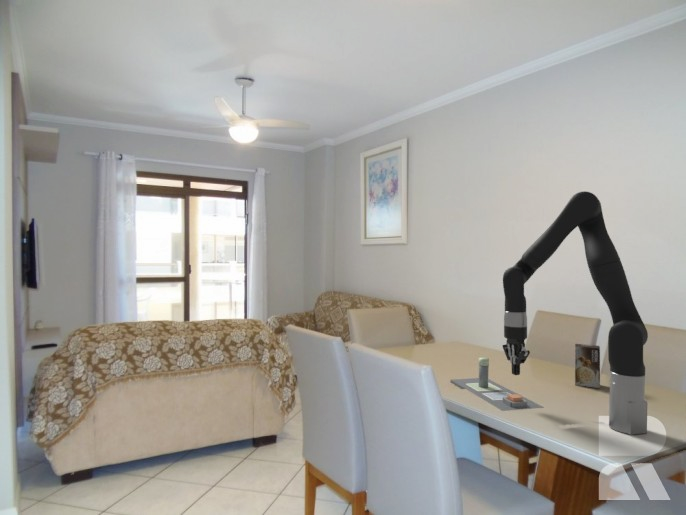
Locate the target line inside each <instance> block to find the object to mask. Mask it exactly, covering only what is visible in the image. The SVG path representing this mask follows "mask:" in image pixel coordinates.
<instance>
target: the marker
mask: <svg viewBox="0 0 686 515" xmlns="http://www.w3.org/2000/svg"><path fill="white" fill-rule="evenodd" d="M489 364H490V358H488V357H478V378H479V387H481V388H488V379H489Z"/></svg>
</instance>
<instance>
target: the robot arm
mask: <svg viewBox="0 0 686 515" xmlns="http://www.w3.org/2000/svg"><path fill="white" fill-rule="evenodd" d="M601 204H602V203H601V201H600V200H599V198H598V196H596V195H595V194H594V193H593V192H590V191H579V192H576V193H575V194H574V195H572V196H571V197H570V198H569V200H568V202H567V203H566V205H565V206H564V207H563V209H562V210H561V212H560V213H559V214H558V216H557V217H556V218H555V220H554V221H553V222H552V223H551V224H550V226H549V227H547V229H546V230H545V231H544V232H543V233H542V234H541V235H540V236H539V237H537V239H536V240H535V241H534V242H533V243H532V244H531V245H530V246H529V247H528V248H527V249H526V251H524V253H523V254H522V255H521V258H520V259H519V260H517V262H516V263H515V264H514V265H513V266H512V267H508V268H507V269H505V270H504V272H503V276H502V287H503V294H504V317H503V337H504V338H505V339H506V342H505V344H502V349H503V352H504V354H505V357H506V360H507V361H510V362H509V363H510V364H511V374H512V375H514V376H519V375H520V373H521V364H525V362H526V360H527V358H529V355H530V353H531V352H530V351H531V350H527V349H526V343H525V340H527V339H528V315H527V299H526V296H525V284H526V283H527V282H528V281H529V280H530V278H531V277H532V276H533V275H534V274H535V272H536V271H537V270H538V269H539V268H541V267H542V266H543V265H544V264H545V263H546V262H547V261H548V260H549V259H550V258H551V257H552V256H553V255H554V253H555V252H556V251H557V250H558V249H559V247H560V246H561V245H562V243H563V242H564V241H565V239H566V238H567V237H568V236H569V235H570V234H571V233H572V232H574V230H575V229H576V228H577V227H578V230H579V231H580V234H581V236H582V240H583V245H584V246H583V247H584V252H585V260H586V264H587V266H588V269H589V274H590V275H591V279H592V282H593V283H594V285H595V287H596V289H597V291H598V293H599V294H600V295H601V297H602V299H603V300H604V302H605V303H606V305H607V307H608V310H609V312H610V316H611V320H612V323H613V324H612V326H611V327H610V329H609V332H608V339H607V341H608V342H607V348H608V349H607V358H608V363H609V400H608V401H609V403H608V404H609V409H608V410H609V411H608V426H609V428H611V429H612V430H614V431H616V432H620V433H624V434H628V435H630V436H632V435H640V434H647V433H648V403H649V402H647V401H646V400H645V399H646V397H645V396H646V395H645V394H646V389H645V388H646V365H645V363H644V346H645V345H646V343H647V341H648V339H649V338H648V337H649V334H648V333H649V332H648V330H647V328H646V326H645V323H644V321H643V319H642V318H641V315H640V313H639V311H638V309H637V307H636V305H635V302H634V298H633V296H632V292H631V288H630V285H629V281H628V279H627V275H626V271H625V269H624V266H623V264H622V261H621V258H620V256H619V253H618V251H617V249H616V247H615V244H614V242H613V241H612V239H611V237H610V234H609V233H608V230H607V228H606V222H605V220H604V216H603V214H604V213H603V209H602V205H601Z"/></svg>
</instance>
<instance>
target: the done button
mask: <svg viewBox="0 0 686 515" xmlns="http://www.w3.org/2000/svg"><path fill="white" fill-rule="evenodd" d="M517 394H518V393H517ZM517 394H512V395H507V399H508V400H510V401H512V402H520V401H523V397H524V396H523V397H521V396H522V395H521V396H519V395H520V394H519V395H517Z"/></svg>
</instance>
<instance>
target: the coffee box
mask: <svg viewBox="0 0 686 515" xmlns="http://www.w3.org/2000/svg"><path fill="white" fill-rule="evenodd" d="M574 354H575V355H574V386H577V385H578V387H585V386H586V387H589V388H596V389H601V346H600V345H593V344H584V343H575V345H574Z"/></svg>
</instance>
